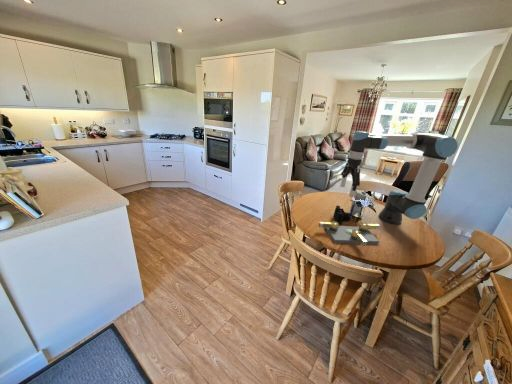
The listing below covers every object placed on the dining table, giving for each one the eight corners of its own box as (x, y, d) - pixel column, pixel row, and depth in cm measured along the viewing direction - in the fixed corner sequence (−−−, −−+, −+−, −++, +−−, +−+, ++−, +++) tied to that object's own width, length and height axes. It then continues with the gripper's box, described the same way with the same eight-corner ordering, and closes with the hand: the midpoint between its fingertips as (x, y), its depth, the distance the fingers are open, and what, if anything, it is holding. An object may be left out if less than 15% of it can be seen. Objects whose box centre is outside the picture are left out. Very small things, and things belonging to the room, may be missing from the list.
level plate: (364, 229, 142) (365, 225, 141) (378, 243, 127) (379, 239, 126) (324, 228, 140) (325, 224, 139) (334, 242, 125) (335, 238, 124)
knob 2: (361, 231, 135) (363, 226, 133) (357, 227, 139) (359, 222, 138) (379, 232, 135) (381, 226, 134) (375, 228, 140) (376, 222, 138)
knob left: (349, 234, 130) (350, 229, 129) (356, 235, 130) (358, 229, 129) (359, 247, 119) (361, 241, 117) (367, 247, 119) (369, 241, 117)
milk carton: (349, 212, 165) (356, 188, 157) (358, 214, 163) (365, 190, 155) (350, 216, 158) (357, 192, 151) (359, 218, 156) (367, 193, 149)
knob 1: (335, 226, 138) (337, 221, 136) (338, 230, 133) (340, 225, 132) (317, 226, 137) (318, 220, 135) (320, 230, 132) (321, 224, 131)
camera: (350, 227, 143) (354, 214, 139) (334, 225, 145) (338, 212, 141) (346, 217, 156) (350, 206, 152) (332, 215, 157) (335, 203, 153)
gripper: (340, 153, 135) (333, 183, 144) (359, 163, 113) (349, 198, 121) (351, 153, 136) (344, 184, 144) (372, 164, 113) (362, 199, 121)
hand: (346, 190), depth 133 cm, fingers open, 13 cm apart
